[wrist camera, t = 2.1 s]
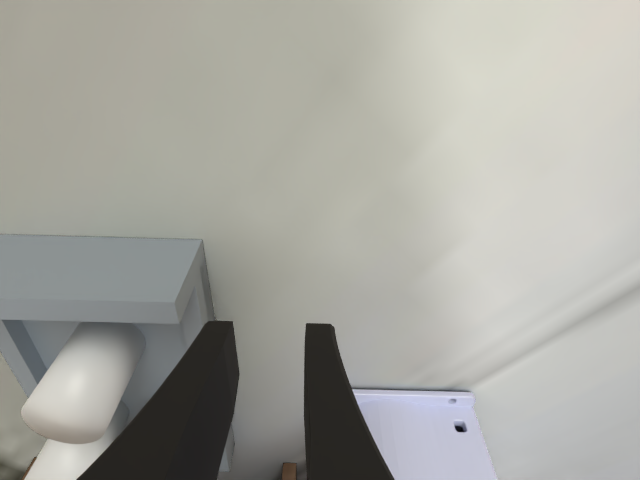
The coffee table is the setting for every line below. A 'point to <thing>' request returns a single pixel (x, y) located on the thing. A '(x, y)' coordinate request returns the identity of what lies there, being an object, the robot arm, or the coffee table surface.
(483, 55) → the coffee table surface
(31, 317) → the tray
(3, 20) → the coffee table surface
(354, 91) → the coffee table surface
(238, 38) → the coffee table surface
